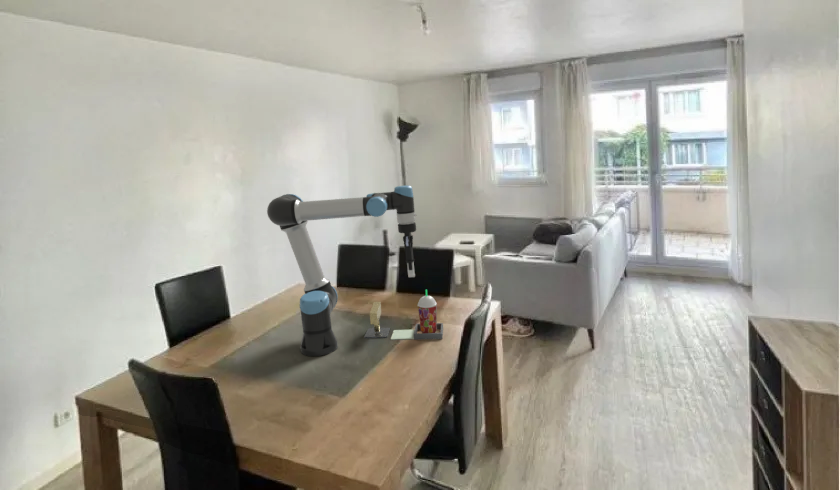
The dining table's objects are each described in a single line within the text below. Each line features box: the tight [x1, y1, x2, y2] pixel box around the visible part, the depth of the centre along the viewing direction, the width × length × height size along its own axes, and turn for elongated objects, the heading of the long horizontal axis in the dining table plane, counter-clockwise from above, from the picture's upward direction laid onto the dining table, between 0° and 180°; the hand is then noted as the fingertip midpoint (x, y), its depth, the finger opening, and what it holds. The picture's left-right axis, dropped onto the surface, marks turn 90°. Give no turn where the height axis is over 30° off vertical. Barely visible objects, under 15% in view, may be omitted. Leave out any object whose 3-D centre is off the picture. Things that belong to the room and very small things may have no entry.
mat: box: [390, 329, 415, 341], centre depth 216 cm, size 10×10×1 cm
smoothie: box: [417, 289, 438, 333], centre depth 214 cm, size 8×8×20 cm
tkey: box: [369, 301, 382, 332], centre depth 218 cm, size 15×3×11 cm, turn 178°
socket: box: [413, 322, 444, 341], centre depth 215 cm, size 12×12×2 cm
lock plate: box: [363, 327, 391, 339], centre depth 220 cm, size 10×10×1 cm
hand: (411, 276), depth 214 cm, fingers closed
